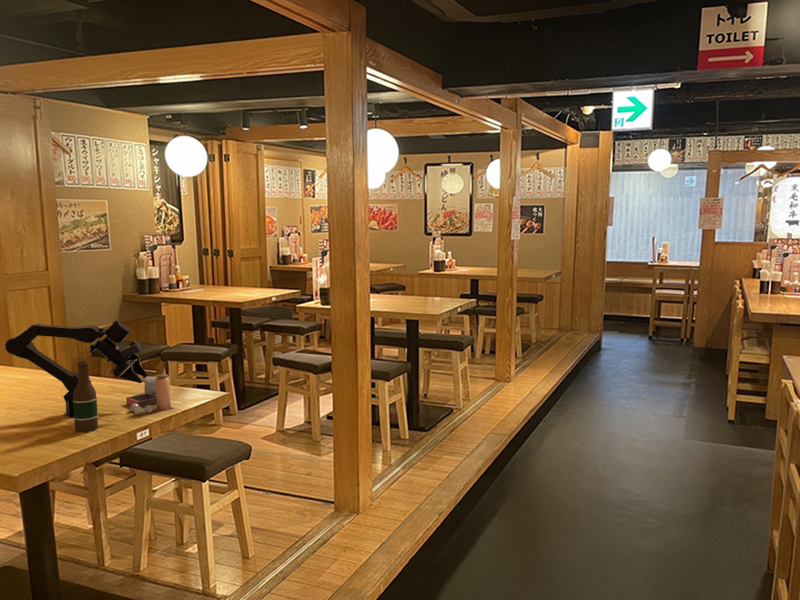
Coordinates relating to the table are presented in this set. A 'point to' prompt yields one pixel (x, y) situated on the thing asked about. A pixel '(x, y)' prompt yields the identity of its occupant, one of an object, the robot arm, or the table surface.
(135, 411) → the pebble
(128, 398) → the lacquer box
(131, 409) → the pebble
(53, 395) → the table surface
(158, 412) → the board
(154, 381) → the ceramic mug
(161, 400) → the canister
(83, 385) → the beer bottle
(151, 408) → the pebble
